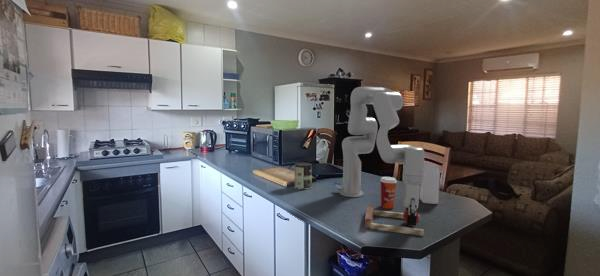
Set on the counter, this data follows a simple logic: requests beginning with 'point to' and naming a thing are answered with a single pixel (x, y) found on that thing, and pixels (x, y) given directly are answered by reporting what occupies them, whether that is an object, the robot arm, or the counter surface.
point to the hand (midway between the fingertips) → (410, 220)
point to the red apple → (407, 216)
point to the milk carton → (430, 184)
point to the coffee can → (303, 175)
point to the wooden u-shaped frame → (390, 228)
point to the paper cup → (388, 192)
